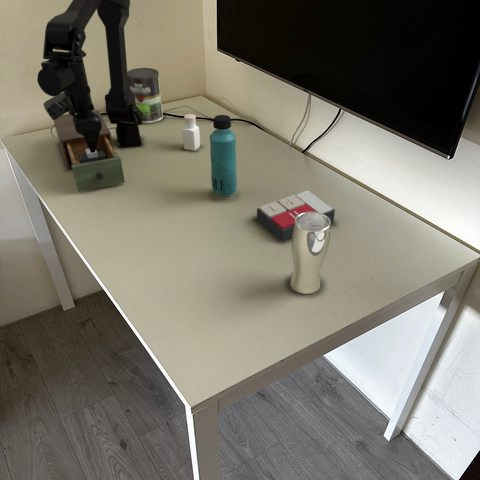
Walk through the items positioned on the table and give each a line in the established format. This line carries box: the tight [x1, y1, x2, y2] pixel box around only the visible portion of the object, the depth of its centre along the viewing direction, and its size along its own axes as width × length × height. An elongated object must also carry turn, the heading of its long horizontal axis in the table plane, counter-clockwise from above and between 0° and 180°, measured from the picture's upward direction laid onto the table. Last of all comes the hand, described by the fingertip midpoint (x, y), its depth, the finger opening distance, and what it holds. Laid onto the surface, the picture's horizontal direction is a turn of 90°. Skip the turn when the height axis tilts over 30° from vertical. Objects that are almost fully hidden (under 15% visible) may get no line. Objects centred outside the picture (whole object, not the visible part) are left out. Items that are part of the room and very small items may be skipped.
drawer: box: [66, 136, 126, 192], centre depth 127 cm, size 19×12×7 cm, turn 23°
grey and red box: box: [256, 190, 336, 242], centre depth 112 cm, size 11×4×15 cm
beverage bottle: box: [209, 114, 237, 197], centre depth 115 cm, size 6×7×20 cm
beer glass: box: [289, 212, 332, 295], centre depth 91 cm, size 7×7×15 cm
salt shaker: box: [181, 113, 201, 152], centre depth 139 cm, size 4×4×10 cm
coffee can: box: [127, 67, 164, 124], centre depth 155 cm, size 10×10×14 cm
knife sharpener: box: [78, 149, 107, 164], centre depth 127 cm, size 7×3×5 cm, turn 113°
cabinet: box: [53, 109, 115, 170], centre depth 138 cm, size 18×13×8 cm
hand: (89, 145), depth 124 cm, fingers open, 9 cm apart
